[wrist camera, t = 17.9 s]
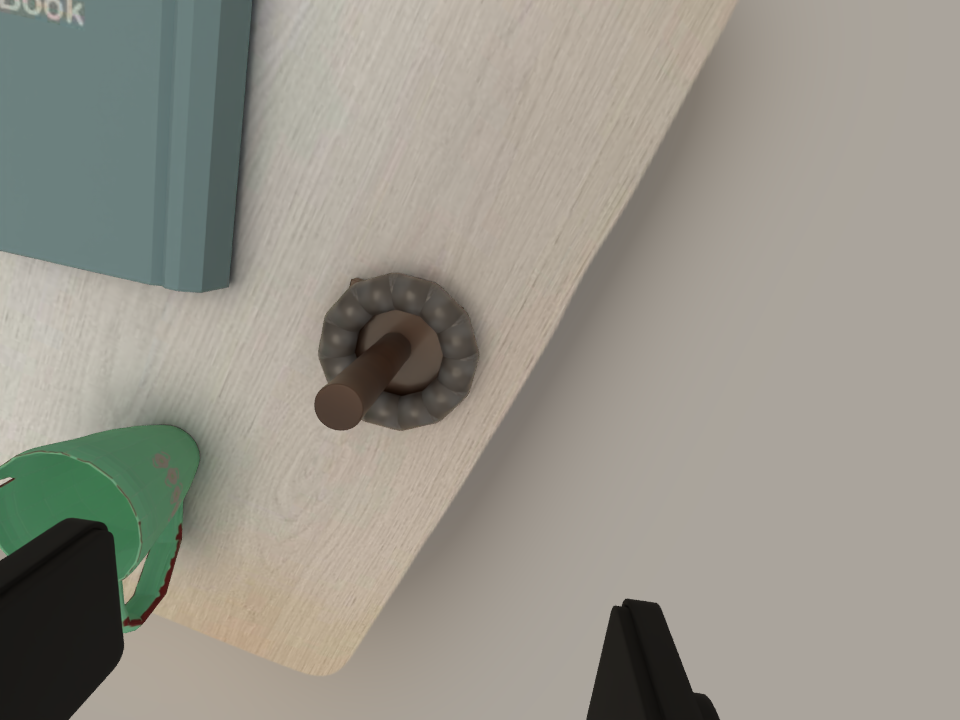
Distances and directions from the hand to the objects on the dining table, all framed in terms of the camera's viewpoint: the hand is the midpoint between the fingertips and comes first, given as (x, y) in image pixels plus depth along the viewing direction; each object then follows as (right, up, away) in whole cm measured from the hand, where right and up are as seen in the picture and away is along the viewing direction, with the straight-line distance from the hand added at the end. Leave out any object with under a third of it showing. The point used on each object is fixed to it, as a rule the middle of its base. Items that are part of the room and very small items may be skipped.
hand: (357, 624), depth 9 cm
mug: (-22, -5, +32) cm, 39 cm away
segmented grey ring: (-3, +5, +25) cm, 26 cm away
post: (-4, +6, +27) cm, 28 cm away
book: (-21, +23, +24) cm, 39 cm away
